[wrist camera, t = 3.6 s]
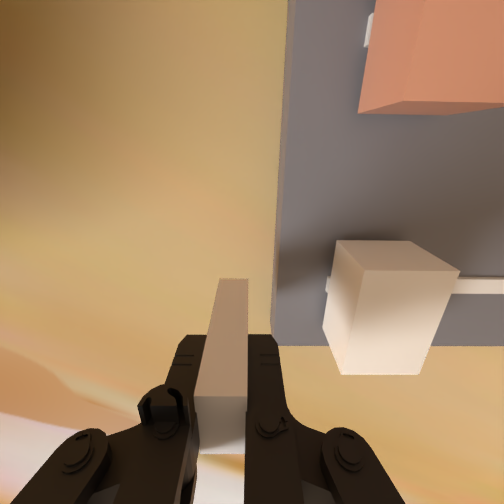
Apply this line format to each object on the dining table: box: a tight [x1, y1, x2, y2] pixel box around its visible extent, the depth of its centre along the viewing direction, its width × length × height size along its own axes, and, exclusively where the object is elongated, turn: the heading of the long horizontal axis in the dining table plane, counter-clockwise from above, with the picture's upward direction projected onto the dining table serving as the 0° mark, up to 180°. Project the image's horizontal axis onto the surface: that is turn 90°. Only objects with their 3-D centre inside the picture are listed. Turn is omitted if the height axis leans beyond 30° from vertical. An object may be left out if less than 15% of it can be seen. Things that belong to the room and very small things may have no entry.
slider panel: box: [270, 0, 504, 346], centre depth 14 cm, size 22×22×3 cm
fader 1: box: [357, 0, 504, 115], centre depth 8 cm, size 4×6×4 cm, turn 179°
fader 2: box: [322, 240, 460, 375], centre depth 13 cm, size 4×6×4 cm, turn 179°
